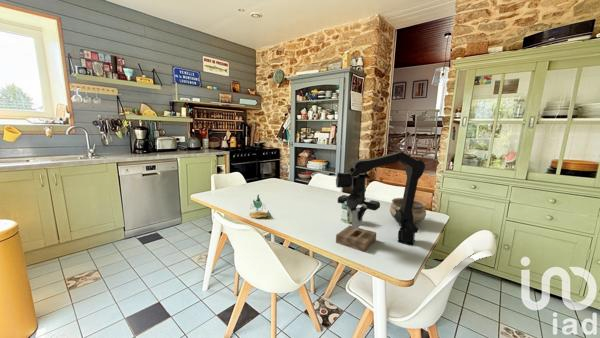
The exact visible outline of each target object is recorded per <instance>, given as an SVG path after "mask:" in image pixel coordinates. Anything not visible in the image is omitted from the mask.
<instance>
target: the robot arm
mask: <svg viewBox="0 0 600 338" xmlns="http://www.w3.org/2000/svg"><path fill="white" fill-rule="evenodd" d="M398 162H399V163H401V164H402V165H404V166H405V173H406V182H405V186H404V187H405V188H404V192H403V197H402V198H403V201H402V206H401V208H400V209H399V210H398V209H396V214H395V216H394V217H395V218H394V221H395V222H396V223H397V224H398V227H400V228H399V230H398V232H397V233H398V234H397V239H398V240H397V242H398V243H401V244H403V245H404V244H405V245H408V246H413V245H414V244H415V242H416V239H415V237H416V234H417V233H418V231H419V228H418V227H417V226H416V225H415V224H413V219H414V217H413V212H412V208H413V203H414V199H415V198H416V192H417V187H418V184H419V183H418V182H419V180H420V178H421V177H423V174H424V171H425V170H426V163H425V162H424V161H422V160H421V159H417V158H413V157H412V156H409V155H408V154H406V153H405V152H402V151H398V150H397V151H396V152H393V153H392V152H391V153H390V154H385V155H381V156H378V157H372V158H361V159H355V160H353V162H352V164H351V167H350V168H349V169H348V171H347V172H337V173H336V174H337V175H336V178H335V186H336V188H339V189H340V188H341V189H342V188H346V189H348V188H350V187H352V188H351V190H350V193H349V195H348V194H347V195H346V194H342V195H340V196H339V197H337V204H343V203H345V202H346V203H347V205H346V206H348V207H349V208H350V210H351V213H352V211H353V210H354V209H356V208H358V206H360V207H359V209H360V216H359V221H361V219H362V220H363V217H364V215H365V213H366V212H367V210H371V211H377V210H379V209H380V207H381V203H380V201H379V200H372V199H371V200H369V201H366V200H367V199H366V192H367V189H366V180H367V179H371V176H370V175H369V174H368V172H370V171H372V170H373V169H375V168H379V167H383V166H387V165H390V164H393V163H398Z"/></svg>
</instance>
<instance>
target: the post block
mask: <svg viewBox="0 0 600 338" xmlns="http://www.w3.org/2000/svg"><path fill="white" fill-rule="evenodd" d="M375 241H377V232H376V231H372V230H368V229H364V228H361V227H358V228H353V227H352V225H347V227H345V228H344V229H342V230H341V231H339V232H338V233H336V235H335V243H336V244H339V245H342V246H345V247H347V248H351V249H355V250H358V251H361V252H363V253H365V252H366V251H367V250H368V249H369V248H370V247H371V246H372V245H373V244H374V243H375Z"/></svg>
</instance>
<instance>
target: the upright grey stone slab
mask: <svg viewBox="0 0 600 338" xmlns="http://www.w3.org/2000/svg"><path fill="white" fill-rule="evenodd" d="M359 208H360V207H358V206H357V207H356V209H354V210H353V211H352V222H351V226H352V227H353V228H360V226H362V225H363V218H362V219H361V221H359V216H360V209H359Z"/></svg>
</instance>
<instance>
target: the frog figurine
mask: <svg viewBox="0 0 600 338" xmlns="http://www.w3.org/2000/svg"><path fill="white" fill-rule="evenodd" d="M252 203H253V205H252V204H250V206H251V207H250V210H251V209H252V208H256V209H255V211H253V212H250V214H249V213H248V215H249V216H250V217H251V218H254V219H255V218H256V219H258V218H266V217H267V219H273V216H272V214H271V213H270V210H269V209H268V210H267V211H264V209H266V207H264V206H266V205H265V203H263V202H262V201H261V198H260V194H257V196H256V200H255V199H253V201H252ZM260 208H261V210H259V209H260ZM263 208H264V209H263ZM268 216H269V217H268Z"/></svg>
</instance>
